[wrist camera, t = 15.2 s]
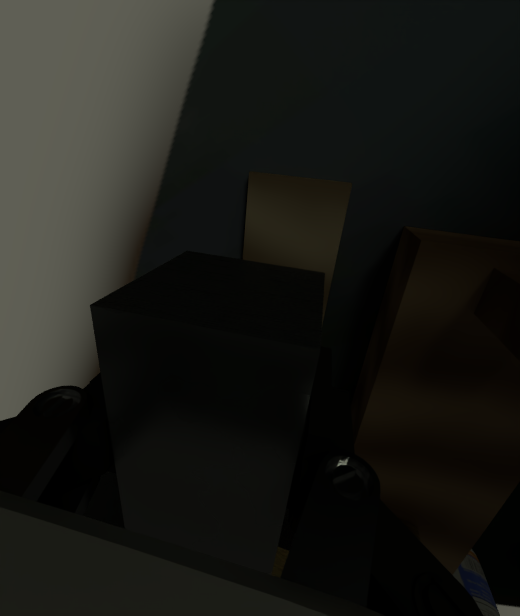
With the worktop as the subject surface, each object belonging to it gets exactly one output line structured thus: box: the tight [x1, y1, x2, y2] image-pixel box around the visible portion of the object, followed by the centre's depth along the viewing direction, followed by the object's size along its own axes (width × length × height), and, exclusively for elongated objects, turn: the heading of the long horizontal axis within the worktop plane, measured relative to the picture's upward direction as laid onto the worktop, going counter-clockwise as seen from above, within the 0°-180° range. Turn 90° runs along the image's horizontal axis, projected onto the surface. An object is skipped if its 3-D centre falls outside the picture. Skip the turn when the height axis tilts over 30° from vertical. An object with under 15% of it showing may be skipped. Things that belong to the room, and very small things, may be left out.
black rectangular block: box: [90, 251, 325, 575], centre depth 10 cm, size 10×4×4 cm, turn 174°
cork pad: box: [243, 172, 352, 324], centre depth 21 cm, size 12×6×1 cm, turn 174°
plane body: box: [351, 226, 520, 575], centre depth 19 cm, size 26×10×9 cm, turn 174°
